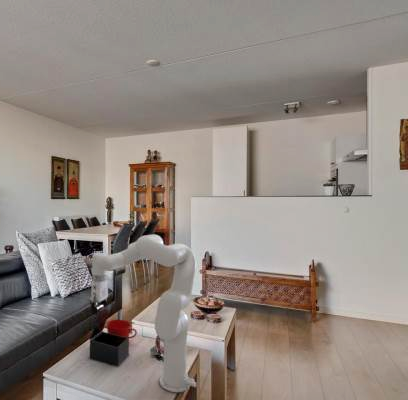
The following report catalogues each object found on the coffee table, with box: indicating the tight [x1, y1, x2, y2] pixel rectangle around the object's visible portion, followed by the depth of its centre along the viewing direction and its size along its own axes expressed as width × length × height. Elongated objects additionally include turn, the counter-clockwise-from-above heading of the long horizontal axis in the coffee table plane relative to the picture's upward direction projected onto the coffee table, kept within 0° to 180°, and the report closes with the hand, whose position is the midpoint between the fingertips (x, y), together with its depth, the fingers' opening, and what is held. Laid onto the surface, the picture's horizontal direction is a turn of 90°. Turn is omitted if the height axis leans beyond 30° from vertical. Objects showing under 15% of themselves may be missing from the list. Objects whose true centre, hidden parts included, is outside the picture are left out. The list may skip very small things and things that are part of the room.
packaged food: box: [149, 345, 164, 359], centre depth 158 cm, size 9×12×5 cm
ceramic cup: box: [106, 319, 138, 339], centre depth 171 cm, size 13×17×10 cm
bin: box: [89, 331, 130, 368], centre depth 155 cm, size 16×13×9 cm
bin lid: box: [89, 302, 113, 341], centre depth 159 cm, size 16×13×5 cm
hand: (98, 310), depth 158 cm, fingers open, 9 cm apart
